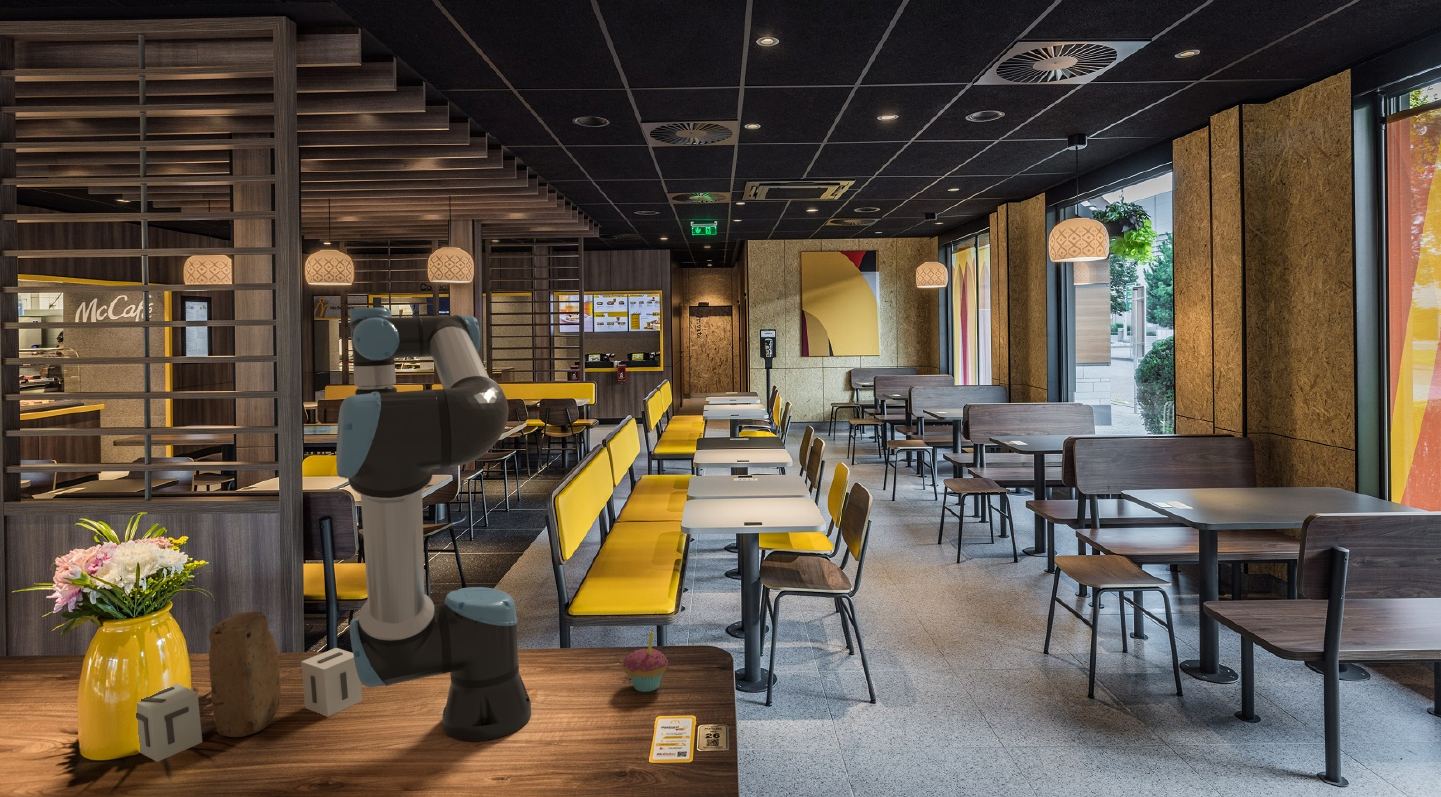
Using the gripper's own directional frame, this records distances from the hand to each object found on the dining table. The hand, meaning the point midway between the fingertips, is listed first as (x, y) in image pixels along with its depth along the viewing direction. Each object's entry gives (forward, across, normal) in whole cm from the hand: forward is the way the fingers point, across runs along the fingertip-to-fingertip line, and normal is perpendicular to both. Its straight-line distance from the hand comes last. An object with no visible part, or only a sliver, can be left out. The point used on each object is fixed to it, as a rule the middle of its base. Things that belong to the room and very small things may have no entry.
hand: (384, 504), depth 163 cm
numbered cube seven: (+35, +9, +38) cm, 52 cm away
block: (+35, +4, +27) cm, 44 cm away
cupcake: (+35, -49, -19) cm, 63 cm away
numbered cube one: (+35, -2, +15) cm, 38 cm away
